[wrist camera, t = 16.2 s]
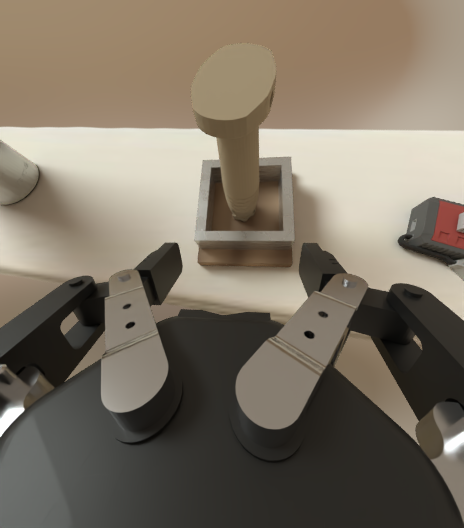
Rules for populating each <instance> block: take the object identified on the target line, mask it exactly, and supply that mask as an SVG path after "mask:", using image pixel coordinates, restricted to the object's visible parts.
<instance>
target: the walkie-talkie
mask: <svg viewBox="0 0 464 528" xmlns="http://www.w3.org/2000/svg"><path fill="white" fill-rule="evenodd" d="M404 239H405V241H404ZM398 243H399V245H400V246H402V247H404V248H406V249H409V250H413V251H416V252H419V253H422V254H426V255H429V256H432V257H436V258H439V259H441V260H443V261H444V262H445V263H447V264H448V267H450V268H451V269H452V270H453V271H454V272H455V273H456V274H457V275H458V276H459V277H460V278H461V279H462V280H463V281H464V205H462V204H460V203H455V202H450V201H446V200H444V199H443V200H442V199H440V198H435V197H432V198H429V199H427V200H426V201H424V202H422V203H421V204H419V205H418V206H416V207H415V208H413V209H412V211H411V215H410V220H409V224H408V229H407V233H406V234H405V235H402V236H401V237H399V239H398Z"/></svg>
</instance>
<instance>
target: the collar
mask: <svg viewBox="0 0 464 528" xmlns="http://www.w3.org/2000/svg"><path fill="white" fill-rule="evenodd" d="M275 181H278V194H279V231H211V229H212V217H213V205H214V192H215V183H222V175H221V167H220V160H203V163H202V173H201V182H200V192H199V201H198V211H197V220H196V230H195V239H194V241H195V242H196V243H197V245H198V246H199V247H200V248H201V249H237V250H290V248H291V247H292V245H293V243H294V241H295V234H294V212H293V189H292V166H291V157H273V158H259V182H275Z"/></svg>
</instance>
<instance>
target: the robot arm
mask: <svg viewBox="0 0 464 528" xmlns="http://www.w3.org/2000/svg"><path fill="white" fill-rule="evenodd" d="M38 177H39V171H38V168H37V166H36V165H35V164H34V163H33V162H31V161H30V160H28V159H27V158H26V157H24V156H23V155H21V154H20V153H18V152H17V151H16V150H14V149H13V148H11V147H10V146H8V145H7V144H6V143H4V142H3V141H2V140H0V204H2V205H8V204H13V203H15V202H18V201H20V200H21V199H23V198H24V197H26V196H27V195H28V194H29V193H30V192H31V191H32V190H33V188H34V187H35V185H36V183H37V181H38ZM181 272H182V260H181V255H180V250H179V245H178V244H177V243H164V244H163V245H162V246H161V247H160V248H159V249H158V250H156V251H154V252H152V253H151V254H150V255H148V256H147V258H145V259H144V260H143V261H142V262H141V263H140V264H139V265H138V266H137V267H136V268H135V269H130V270H124V271H120V272H118V273H116V274H114V275H113V276H111V277H110V279H109V282H104V283H98V284H95V282H94V279H93V277H91V276H81V277H76V278H73V279H71V280H69V281H67V282H65V283H63V284H62V285H60V286H59V287H58V288H56V289H55V290H53V291H52V292H51V293H49V294H48V295H46V296H45V297H44V298H42V299H41V300H39V301H38V302H36V303H35V304H34V305H32V306H31V307H29V308H28V309H27V310H25V311H24V312H22V313H21V314H19V315H18V316H17V317H15V318H14V319H12V320H11V321H10V322H8V323H7V324H5V325H4V326H3V327H1V328H0V528H464V321H463V320H462V319H461V318H460V317H459V316H457V315H456V314H455V313H454V312H453V311H451V310H450V309H449V308H448V307H447V306H445V305H444V304H443V303H442V302H441V301H439V300H438V299H437V298H436V297H435V296H433V295H432V294H431V293H429V292H428V291H426V290H424V289H422V288H420V287H417V286H413V285H409V284H402V283H398V284H394V285H392V286H391V288H390V290H389V292H386V291H381V290H376V289H371V288H368V284H367V282H366V281H365V280H364V279H362V278H360V277H358V276H355V275H352V274H347V272H346V271H345V270H344V269H343V267H342V266H341V265H340V264H339V262H338V261H337V260H336V259H335V257H334V256H333V255H332V254H330V253H328V252H327V251H322V249H321V248H320V247H319V245H318V244H317V243H304V244H303V246H302V251H301V257H300V264H299V274H300V277H301V280H302V283H303V285H304V288H305V290H306V293H307V295H308V299H307V300H306V301H305V302H304V304H303V305H302V306H301V307H300V308H299V309H298V311H297V312H296V313H295V314H294V315H293V316H292V318H291V319H290V320H289V321H288V322H287V323H286V325H283V324H281V323H279V322H276V321H272V320H271V319H270V313H257V312H244V313H238V314H231V315H219V314H215V313H211V312H207V311H203V310H185V309H181V310H180V312H179V314H178V316H175V317H171V318H168V319H165V320H162V321H160V322H158V323H156V322H155V320H154V316H153V313H152V310H151V305H161V304H162V302H163V301H164V299H165V298H166V296H167V295H168V293H169V291H170V290H171V288H172V287H173V285H174V283H175V282H176V280H177V279H178V277H179V275H180V274H181ZM72 311H73V312H74V314H75V315H76V317H77V318H78V320H79V321H78V322H77V323H76V324H75V325H74V326H73V327H72V328H71V329H70V330H69V331H68V332H67V333H66V334H65V335H63V333H62V332H61V330H60V325H61V323H62V321H63V320H64V319H65V318H66V317H67V316H68V315H69V314H70V313H71V312H72ZM104 331H105V354H103V356H102V358H101V359H100V360H98V361H97V362H95V363H93V364H92V365H90V366H89V367H87V368H86V369H84V370H83V371H81V372H79V373H78V374H76V375H75V376H73V377H72V378H70V379H68V380H67V381H66V382H65V380H66V379H67V378H68V377H69V375H70V374H71V373H72V371H73V370H74V369H75V368H76V366H77V365H78V364H79V362H80V361H81V360H82V359H83V357H84V356H85V355H86V354H87V352H88V351H89V350H90V349H91V347H92V346H93V345H94V344H95V342H96V341H97V339H98V338H99V337H100V336H101V335H102V333H103V332H104ZM351 331H355V332H358V333H362V334H366V335H369V336H371V338H372V340H373V342H374V344H375V345H376V347H377V349H378V351H379V352H380V354H381V356H382V357H383V359H384V361H385V363H386V365H387V366H388V368H389V370H390V372H391V373H392V375H393V377H394V378H395V380H396V382H397V384H398V386H399V387H400V389H401V391H402V393H403V394H404V396H405V398H406V400H407V401H408V403H409V405H410V406H411V408H412V410H413V412H414V413H415V415H416V417H417V419H418V420H419V422H418V424H417V425H416V430H415V431H416V437H417V440H418V442H419V445H420V446H419V445H418V444H417V443H416V442H415V441H414V440H413V439H412V438H411V437H410V436H409V435H408V434H407V433H406V432H405V431H404V430H403V429H402V428H401V427H400V426H399V425H398V424H396V423H395V422H394V421H393V420H392V419H391V418H390V417H389V416H388V415H386V414H385V413H384V412H383V411H382V410H381V409H380V408H379V407H378V406H377V405H375V404H374V403H373V402H372V401H371V400H370V399H369V398H368V397H367V396H365V395H364V394H363V393H362V392H361V391H360V390H359V389H358V388H357V387H356V386H354V385H353V384H352V383H351V382H350V381H349V380H348V379H347V378H346V377H344V376H343V375H342V374H341V373H340V372H339V371H338V370H337V369H335V368H334V367H335V364H336V362H337V360H338V357H339V355H340V353H341V351H342V349H343V347H344V344H345V343H346V340H347V338H348V336H349V334H350V332H351ZM415 334H416V336H417V337H418V338H419V339H420V341H421V344H422V350H421V349H420V347H419V346H418V345H417V344H416V342H415V341H414V340H413V337H414V336H415Z"/></svg>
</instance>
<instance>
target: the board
mask: <svg viewBox="0 0 464 528" xmlns="http://www.w3.org/2000/svg"><path fill="white" fill-rule="evenodd" d="M232 214H233V213H232V212H231V210H230V208H229V206H228V203H227V200H226V197H225V193H224V189H223V183H215V192H214V205H213V217H212V229H211V231H279V194H278V181H275V182H259V193H258V200H257V204H256V211H255V214H254V216H251V217H250V218H249V219H248V220H247V221H246V222H243V221H242V220H235V219H234V217H233V215H232ZM198 263H199V264H200V265H219V266H269V267H290V266H291V265H292V247H291V248H290V250H237V249H201V248H200V247H199V252H198Z"/></svg>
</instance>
